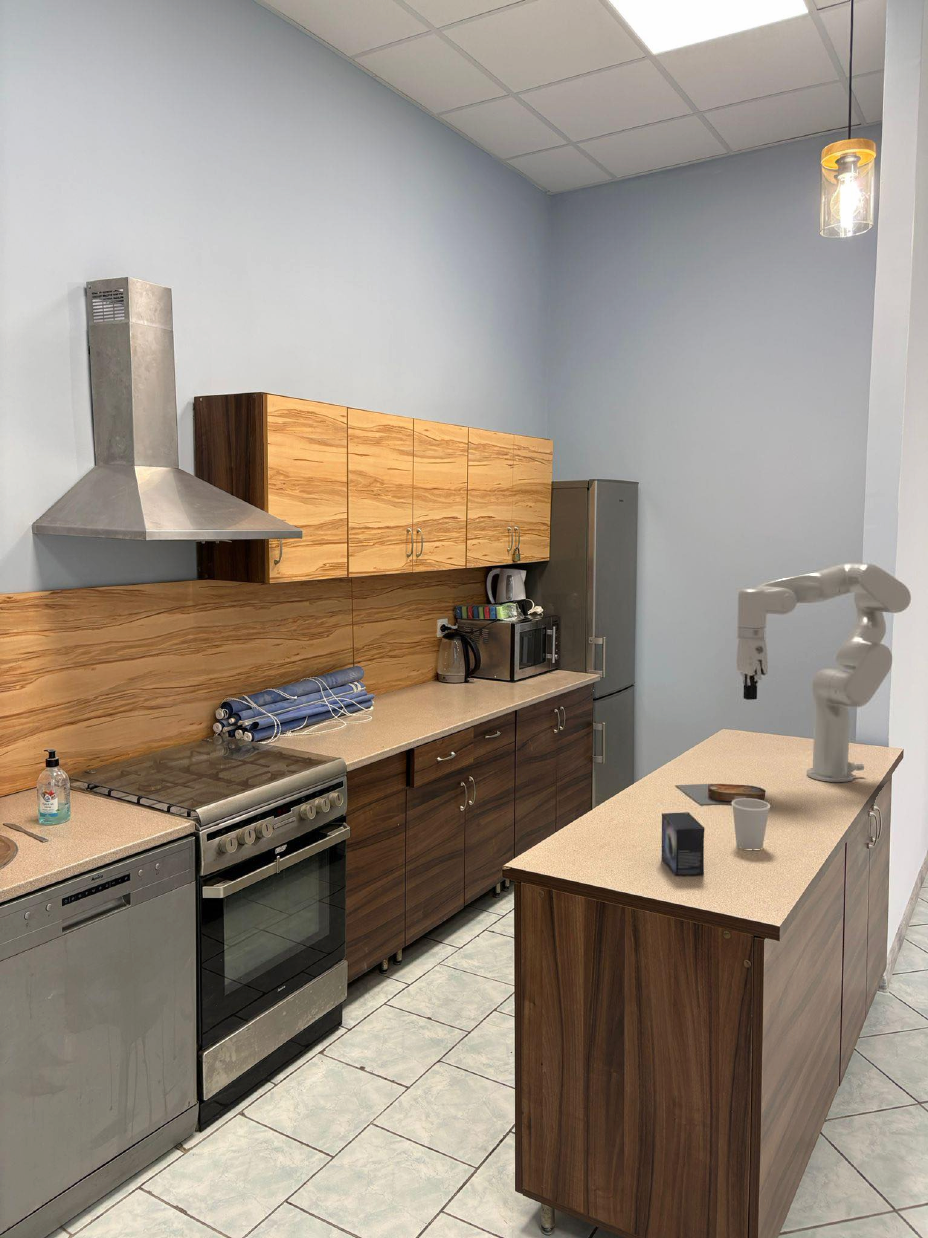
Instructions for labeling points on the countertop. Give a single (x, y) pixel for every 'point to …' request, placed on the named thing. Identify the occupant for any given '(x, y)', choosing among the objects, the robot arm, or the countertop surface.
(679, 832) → the small box
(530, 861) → the countertop surface
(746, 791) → the tin
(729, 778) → the countertop surface
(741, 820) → the dixie cup
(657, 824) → the countertop surface
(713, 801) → the mat
